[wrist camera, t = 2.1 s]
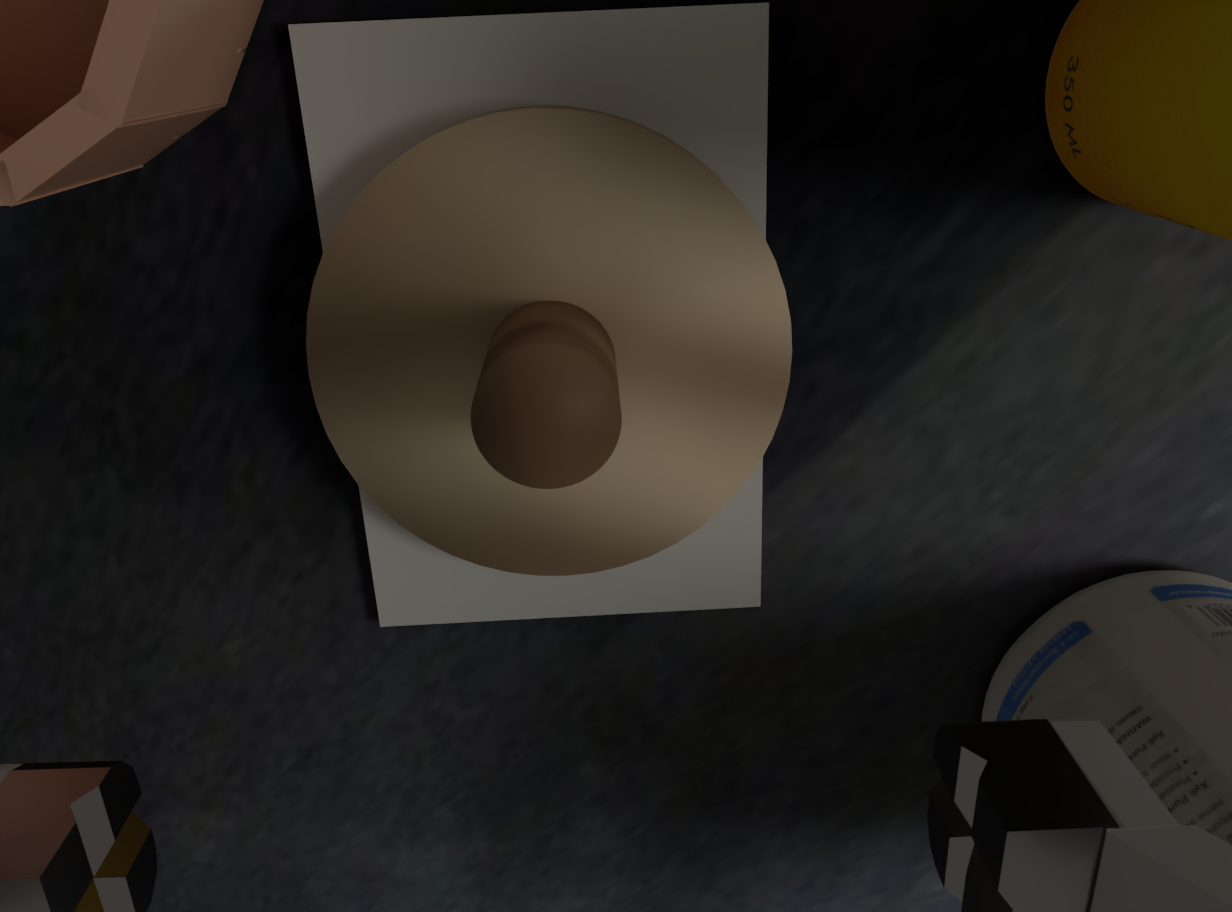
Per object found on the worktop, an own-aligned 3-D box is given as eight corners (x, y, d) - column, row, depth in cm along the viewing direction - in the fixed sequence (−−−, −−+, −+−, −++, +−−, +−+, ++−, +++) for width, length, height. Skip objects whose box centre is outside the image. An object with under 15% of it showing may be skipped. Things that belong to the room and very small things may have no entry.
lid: (778, 543, 29) (818, 645, 24) (353, 565, 29) (307, 673, 24) (788, 93, 24) (840, 108, 19) (281, 117, 24) (206, 138, 19)
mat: (758, 599, 30) (760, 606, 29) (382, 619, 30) (380, 627, 29) (765, 3, 24) (769, 2, 23) (293, 24, 24) (287, 24, 23)
